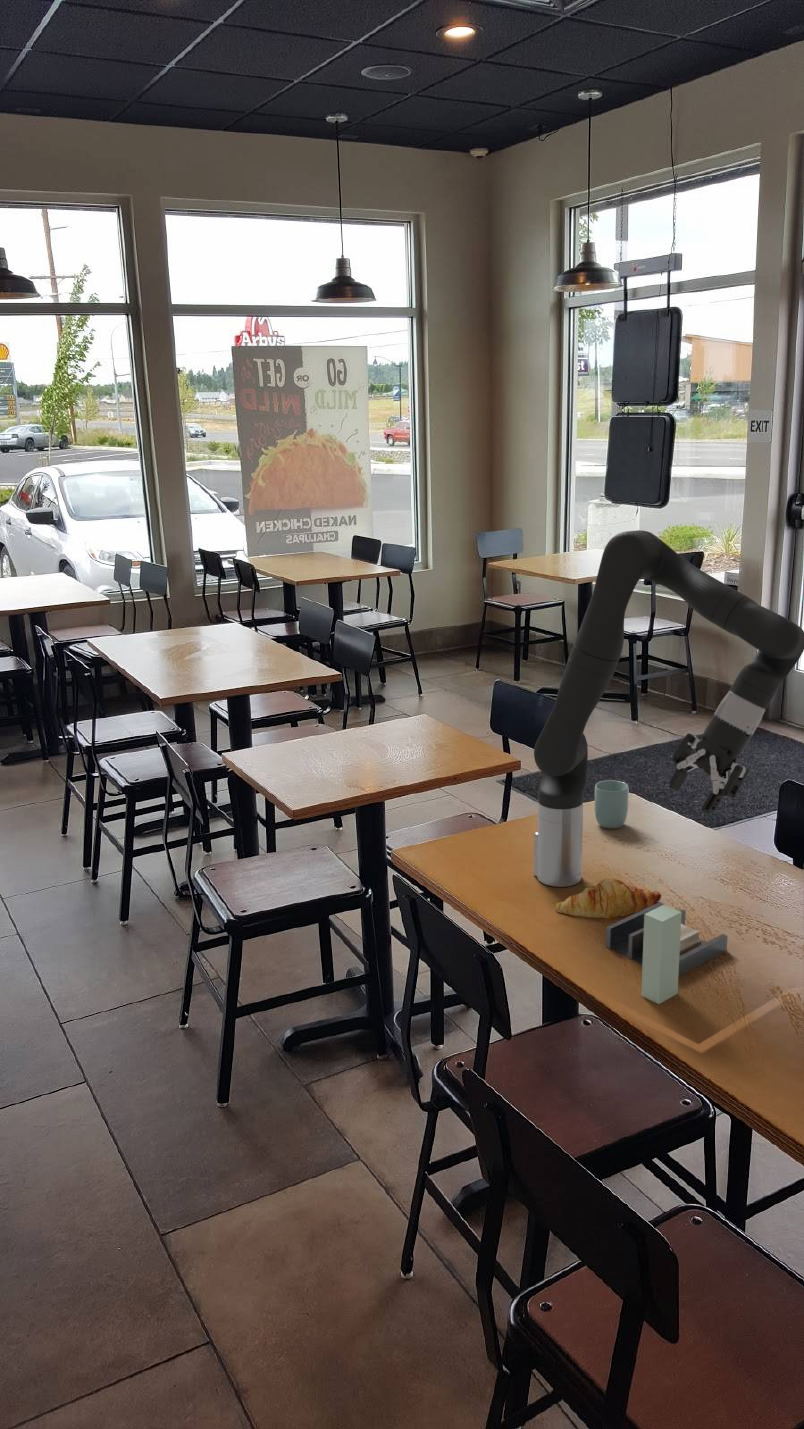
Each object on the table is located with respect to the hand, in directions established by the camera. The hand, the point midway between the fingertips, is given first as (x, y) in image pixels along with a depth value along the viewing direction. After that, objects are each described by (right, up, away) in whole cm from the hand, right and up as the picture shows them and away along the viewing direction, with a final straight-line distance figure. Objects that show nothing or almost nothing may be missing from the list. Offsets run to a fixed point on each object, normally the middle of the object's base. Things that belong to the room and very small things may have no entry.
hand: (689, 800), depth 194 cm
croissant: (-11, -23, +18) cm, 32 cm away
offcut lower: (-3, -27, -1) cm, 27 cm away
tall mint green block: (-9, -32, -14) cm, 36 cm away
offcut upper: (-3, -25, -1) cm, 26 cm away
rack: (-4, -28, +1) cm, 28 cm away
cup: (-3, -11, +60) cm, 61 cm away
